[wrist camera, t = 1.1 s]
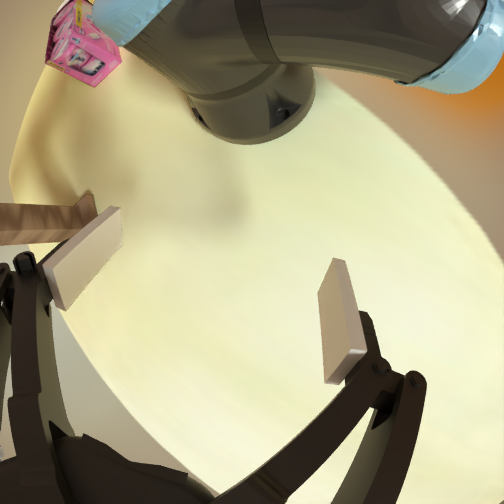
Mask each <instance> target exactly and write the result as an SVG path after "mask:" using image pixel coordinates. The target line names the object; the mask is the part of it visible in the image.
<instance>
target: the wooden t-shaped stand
mask: <svg viewBox="0 0 504 504" xmlns="http://www.w3.org/2000/svg"><path fill="white" fill-rule="evenodd" d="M97 216H98V215H97V211H96V207H95V202H94V197H93V195H89V194H86V195H85V196H84V197H83V198H82V199H81V200H80V201H78V202H77V203H76V204H75V205H74V206H73V207H72V206H55V205H36V204H12V203H0V246H3V245H18V244H34V243H51V242H62V241H64V240H67V239H71V238H72V237H73V236H74V235H75V234H77V233H78V232H79V231H80V230H81V229H83V228H84V227H85V226H86V225H87V224H89V223H90V222H91V221H92V220H94V219H95V218H96V217H97Z"/></svg>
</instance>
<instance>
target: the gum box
mask: <svg viewBox="0 0 504 504" xmlns="http://www.w3.org/2000/svg"><path fill="white" fill-rule="evenodd" d="M92 8H93V6H92V5H91V4H89V3H88V2H86V1H85V0H69V1H68V2H67V3H66V4H65V5H64V6H63V7H62V8H61V9H60V10H59V11H58V12H57V14H56V15H55V16H54V17H53V19H52V21H51V26H50V33H49V38H48V44H47V50H46V56H45V64H47V65H49V66H52V67H54V68H56V69H58V70H60V71H62V72H64V73H66V74H68V75H70V76H72V77H74V78H76V79H79V80H81V81H83V82H85V83H87V84H89V85H91V86H93V87H96V86H97V85H98V84H99V83H100V82H101V81H102V80H103V79H104V78H105V77H106V76H107V75H108V74H109V73H110V72H111V71H112V70H113V69H114V68H116V67H117V66H118V65H119V64H120V63H121V62H122V60H121V57H120V53H119V48H118V46H117V45H116V44H115V43H114V41H113V40H112V39H111V38H110V37H108V36H107V35H106V34H105V33H104V32H102V31H101V30H100V29H99V28H97V26H96V25H95V24H94V22H93V17H92Z"/></svg>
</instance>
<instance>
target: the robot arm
mask: <svg viewBox="0 0 504 504" xmlns="http://www.w3.org/2000/svg"><path fill="white" fill-rule="evenodd" d="M92 17H93V22H94V24H95V25H96V26H97V28H99V29H100V30H101V31H102V32H104V33H105V34H106V35H107V36H108V37H110V38H111V39H112V40H113V41H114V43H115V44H116V45H117V46H119V47H121V46H122V47H124V48H125V49H127V50H128V51H130V52H131V53H133V54H134V55H136V56H137V57H139V58H140V59H142V60H143V61H144V62H146V63H147V64H149V65H150V66H151V67H153V68H154V69H155V70H157V71H158V72H159V73H161V74H162V75H163V76H165V77H166V78H167V79H169V80H170V81H171V82H173V83H174V84H175V85H176V86H178V87H179V88H181V89H182V90H183V91H184V92H185V93H186V96H187V98H188V101H189V103H190V105H191V107H192V110H193V112H194V115H195V116H196V118H197V120H198V121H199V122H200V123H201V125H202V126H203V127H204V128H206V129H207V130H208V131H210V132H211V133H212V134H214V135H215V136H217V137H218V138H220V139H222V140H224V141H227V142H230V143H234V144H242V145H252V144H260V143H264V142H268V141H271V140H274V139H276V138H279V137H281V136H283V135H284V134H286V133H288V132H289V131H291V130H292V129H293V128H295V127H296V126H297V125H298V124H299V123H300V122H301V121H302V120H303V119H304V117H305V116H306V115H307V113H308V112H309V110H310V108H311V106H312V104H313V101H314V97H315V79H314V75H313V70H312V67H321V68H331V69H338V70H345V71H351V72H357V73H363V74H368V75H373V76H378V77H383V78H387V79H391V80H394V82H395V83H397V84H400V85H403V86H414V87H415V86H418V87H423V88H426V89H430V90H433V91H436V92H440V93H444V94H460V93H465V92H468V91H470V90H472V89H474V88H475V87H477V86H479V85H480V84H481V83H482V82H483V81H484V80H485V79H486V78H487V77H488V76H489V75H490V74H491V73H492V71H493V70H494V68H495V67H496V66H497V64H498V62H499V60H500V58H501V56H502V54H503V52H504V0H95V2H94V4H93V8H92ZM121 246H122V228H121V208H119V207H114V206H110V207H109V208H107V209H106V210H105V211H104V212H102V213H101V214H100V215H99V216H97V217H96V218H95V219H94V220H92V221H91V222H90V223H89V224H87V225H86V226H85V227H84V228H83V229H81V230H80V231H79V232H78V233H77V234H75V235H74V236H73V237H72V238H71V239H67V240H64V241H62V242H61V243H59V244H58V245H57V246H56V247H55V249H53V250H52V251H51V252H49V253H48V254H47V255H46V256H45V257H44V258H43V259H42V260H41V261H40V262H39V263H38V264H36V260H35V257H34V254H33V253H32V252H30V251H25V252H22V253H20V254H18V255H17V256H16V257H15V258H14V260H13V264H14V267H15V270H16V271H11V270H10V267H9V265H8V264H7V263H0V430H1V422H2V409H3V398H4V390H5V382H6V376H7V369H8V364H9V359H10V354H11V374H12V388H13V396H12V397H10V398H9V399H8V413H9V420H10V426H11V432H12V438H13V443H14V447H15V451H16V456H15V457H12V458H9V459H6V460H4V461H1V459H0V504H285V503H286V502H287V500H288V498H289V496H290V495H291V494H292V493H294V492H295V491H296V490H297V489H298V488H299V487H300V486H301V485H302V484H303V483H304V482H305V481H306V480H307V479H308V478H309V477H310V476H311V475H312V474H313V473H314V472H315V471H316V470H317V469H318V468H319V467H320V466H321V465H322V464H323V463H324V462H325V461H326V460H327V459H328V458H329V457H330V456H331V454H332V453H333V452H334V451H335V450H336V449H337V448H338V447H339V445H340V444H341V443H342V442H343V441H344V439H345V438H346V437H347V436H348V435H349V433H350V432H351V431H352V430H353V428H354V427H355V426H356V425H357V423H358V422H359V421H360V419H361V418H362V417H363V416H364V414H365V413H366V411H367V410H368V409H369V407H371V408H374V411H373V414H372V417H371V419H370V422H369V425H368V427H367V430H366V432H365V435H364V437H363V440H362V442H361V444H360V447H359V449H358V451H357V453H356V456H355V458H354V460H353V462H352V464H351V466H350V468H349V470H348V473H347V475H346V477H345V478H344V480H343V482H342V484H341V486H340V488H339V490H338V492H337V493H336V495H335V497H334V499H333V501H332V502H331V504H396V501H397V499H398V496H399V494H400V491H401V489H402V486H403V483H404V480H405V477H406V474H407V471H408V468H409V465H410V462H411V458H412V455H413V451H414V448H415V444H416V440H417V436H418V432H419V427H420V423H421V418H422V413H423V407H424V402H425V396H426V389H427V382H426V380H425V378H424V376H423V375H422V374H421V373H419V372H417V371H409V372H408V373H407V374H406V375H402V374H400V373H397V372H395V371H393V370H392V369H391V366H390V364H389V362H388V361H387V360H386V359H384V358H382V357H381V353H380V349H379V345H378V341H377V337H376V335H375V334H376V333H375V329H374V325H373V321H372V319H371V317H370V316H369V315H368V313H367V312H364V311H358V307H357V303H356V299H355V295H354V291H353V288H352V284H351V280H350V277H349V273H348V269H347V266H346V263H345V260H341V259H337V258H333V259H332V261H331V264H330V266H329V268H328V271H327V273H326V275H325V277H324V280H323V282H322V284H321V286H320V289H319V291H318V303H319V313H320V324H321V336H322V350H323V365H324V383H326V384H336V385H339V384H340V383H341V382H342V381H343V380H344V379H345V387H344V388H343V389H342V390H341V391H340V392H339V393H338V394H337V395H336V397H335V398H334V399H333V400H332V401H331V402H330V403H329V404H328V405H327V406H326V407H325V408H324V409H323V410H322V411H321V412H320V413H319V415H318V416H317V417H316V418H315V419H314V420H312V421H311V422H310V423H309V424H308V425H307V426H306V427H305V428H304V429H303V430H302V431H301V432H300V433H299V434H298V435H297V436H296V437H295V438H293V439H292V440H291V441H290V442H289V443H288V444H287V445H286V446H284V447H283V448H282V449H281V450H280V451H279V452H277V453H276V454H275V455H274V456H273V457H271V458H270V459H269V460H268V461H266V462H265V463H264V464H263V465H261V466H260V467H259V468H258V469H256V470H255V471H254V472H252V473H251V474H250V475H248V476H247V477H246V478H244V479H243V480H241V481H240V482H238V483H237V484H236V485H234V486H233V487H231V488H230V489H228V490H227V491H225V492H224V493H222V494H221V495H219V496H217V497H216V498H215V497H214V496H213V495H212V494H211V493H210V491H209V490H208V489H206V488H205V487H204V486H203V485H202V484H200V483H199V482H197V481H196V480H194V479H192V478H190V477H188V473H185V472H181V471H178V470H174V469H171V468H167V467H164V466H161V465H153V464H145V463H137V462H131V461H129V460H127V459H126V458H124V457H123V456H122V455H120V454H119V453H117V452H116V451H115V450H113V449H112V448H111V447H109V446H108V445H107V444H105V443H102V442H100V441H98V440H96V439H94V438H92V437H90V436H88V435H86V434H83V436H82V437H79V436H75V433H74V431H73V429H72V427H71V425H70V423H69V421H68V419H67V415H66V411H65V407H64V403H63V398H62V393H61V389H60V383H59V378H58V372H57V365H56V359H55V351H54V342H53V331H52V318H51V317H52V316H51V305H50V302H51V300H52V299H53V300H54V302H55V305H56V307H58V308H60V309H62V310H64V311H67V310H68V309H69V307H70V306H71V305H72V303H73V302H74V301H75V300H76V298H77V297H78V296H79V295H80V293H81V292H82V291H83V290H84V289H85V287H86V286H87V285H88V284H89V283H90V281H91V280H92V279H93V278H94V277H95V275H96V274H97V273H98V272H99V271H100V270H101V269H102V267H103V266H104V265H105V264H106V263H107V262H108V261H109V259H110V258H111V257H112V256H113V255H114V254H115V253H116V252H117V251H118V250H119V248H120V247H121ZM1 302H3V304H2V306H1ZM3 456H4V450H3V448H2V447H1V446H0V458H2V457H3Z"/></svg>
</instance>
